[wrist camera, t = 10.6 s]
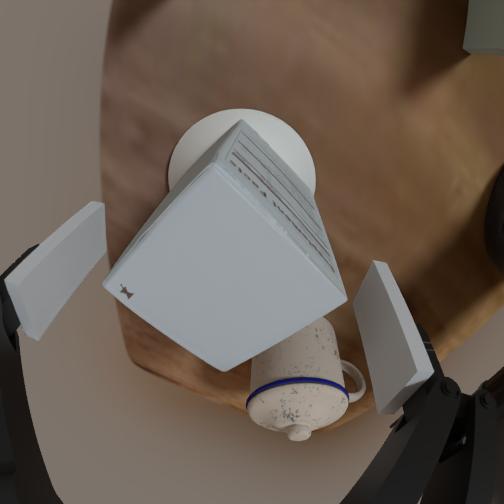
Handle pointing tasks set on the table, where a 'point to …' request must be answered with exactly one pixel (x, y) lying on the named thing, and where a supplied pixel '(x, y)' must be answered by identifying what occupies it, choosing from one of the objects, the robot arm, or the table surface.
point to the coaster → (263, 123)
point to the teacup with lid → (301, 383)
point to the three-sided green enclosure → (485, 27)
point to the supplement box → (231, 255)
